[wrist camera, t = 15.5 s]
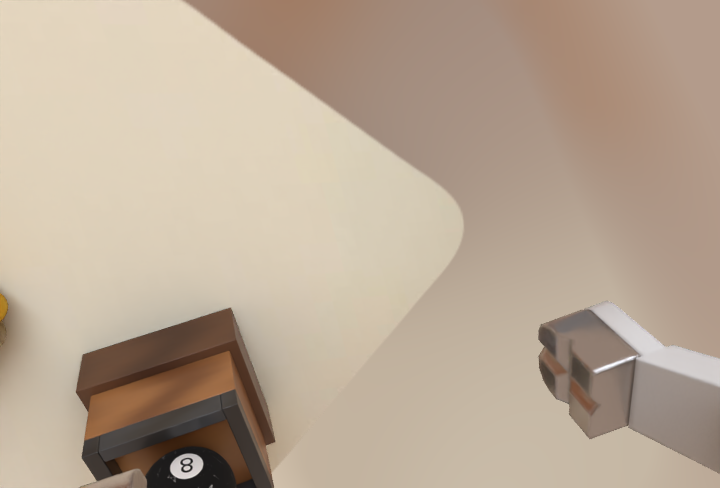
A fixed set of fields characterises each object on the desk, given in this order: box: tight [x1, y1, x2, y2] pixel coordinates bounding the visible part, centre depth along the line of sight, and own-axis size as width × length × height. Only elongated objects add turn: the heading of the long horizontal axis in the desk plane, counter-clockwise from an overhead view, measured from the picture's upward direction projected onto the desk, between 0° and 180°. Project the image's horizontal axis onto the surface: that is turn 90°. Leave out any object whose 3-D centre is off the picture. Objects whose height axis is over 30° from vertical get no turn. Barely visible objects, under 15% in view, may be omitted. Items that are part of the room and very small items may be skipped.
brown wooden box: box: [76, 308, 275, 488], centre depth 42 cm, size 11×11×9 cm
